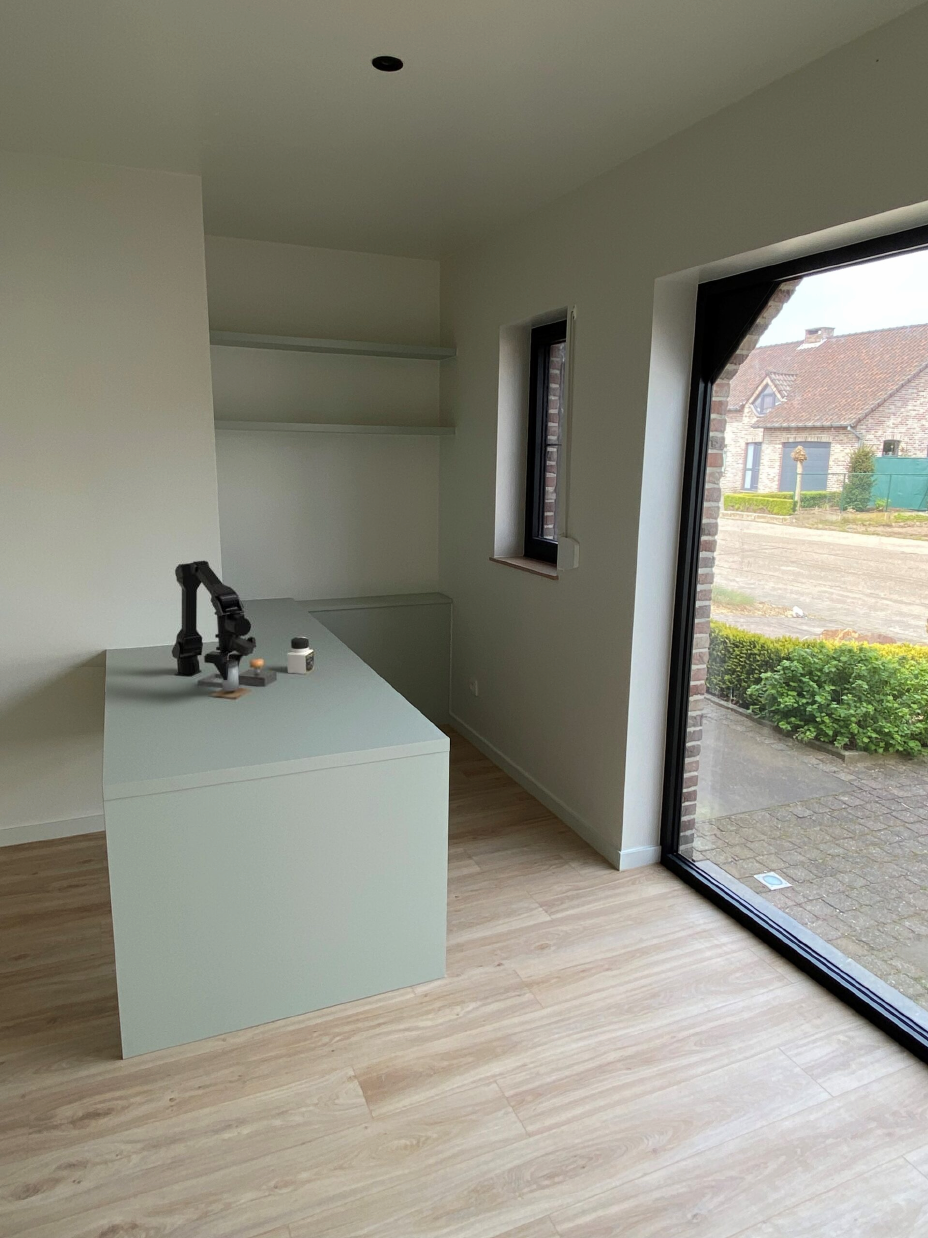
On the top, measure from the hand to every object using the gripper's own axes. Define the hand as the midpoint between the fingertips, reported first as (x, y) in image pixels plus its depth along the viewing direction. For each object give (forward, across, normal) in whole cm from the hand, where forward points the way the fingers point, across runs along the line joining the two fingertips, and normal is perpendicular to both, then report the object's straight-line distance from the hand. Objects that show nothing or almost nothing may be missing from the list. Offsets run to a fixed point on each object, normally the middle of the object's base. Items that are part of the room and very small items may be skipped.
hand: (230, 677), depth 255 cm
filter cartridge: (+4, 0, 0) cm, 4 cm away
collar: (+5, +10, +10) cm, 15 cm away
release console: (+5, +14, -2) cm, 15 cm away
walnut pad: (+5, 0, 0) cm, 5 cm away
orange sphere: (+2, +14, -2) cm, 14 cm away
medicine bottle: (+6, +30, -10) cm, 32 cm away
